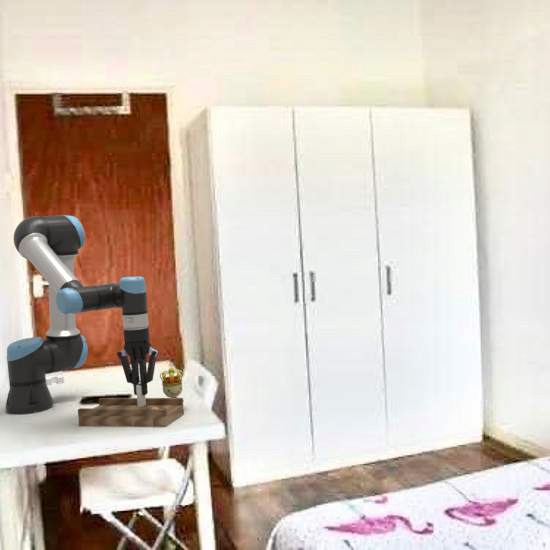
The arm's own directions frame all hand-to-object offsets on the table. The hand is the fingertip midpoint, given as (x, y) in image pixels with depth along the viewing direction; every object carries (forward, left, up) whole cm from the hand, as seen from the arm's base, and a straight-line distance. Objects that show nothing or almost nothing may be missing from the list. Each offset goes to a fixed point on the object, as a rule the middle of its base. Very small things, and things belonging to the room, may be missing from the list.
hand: (141, 405), depth 209 cm
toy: (+5, +12, -5) cm, 14 cm away
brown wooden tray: (-4, 0, -4) cm, 6 cm away
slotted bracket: (-65, +56, -5) cm, 86 cm away
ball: (+4, 0, -2) cm, 5 cm away
